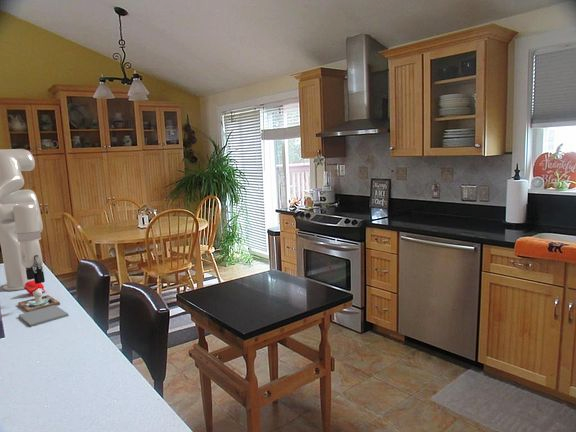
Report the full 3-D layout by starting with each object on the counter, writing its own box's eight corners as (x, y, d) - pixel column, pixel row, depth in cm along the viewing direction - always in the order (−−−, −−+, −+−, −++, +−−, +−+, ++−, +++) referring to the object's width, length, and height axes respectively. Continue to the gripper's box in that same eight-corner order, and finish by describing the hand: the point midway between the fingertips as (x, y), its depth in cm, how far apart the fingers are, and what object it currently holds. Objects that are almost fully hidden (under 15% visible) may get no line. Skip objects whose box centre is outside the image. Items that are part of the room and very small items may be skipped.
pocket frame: (18, 304, 167) (18, 302, 166) (48, 297, 174) (47, 294, 174) (28, 313, 157) (28, 310, 157) (60, 304, 165) (59, 302, 164)
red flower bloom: (26, 291, 173) (39, 280, 176) (19, 284, 176) (32, 274, 179) (37, 302, 179) (50, 291, 181) (30, 295, 182) (43, 285, 184)
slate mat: (19, 316, 154) (18, 314, 154) (55, 307, 162) (54, 304, 162) (30, 326, 144) (30, 324, 144) (68, 315, 153) (68, 313, 152)
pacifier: (27, 305, 166) (28, 309, 162) (25, 289, 166) (26, 293, 161) (48, 300, 171) (50, 304, 166) (46, 285, 170) (48, 288, 165)
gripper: (11, 236, 165) (18, 280, 167) (24, 240, 153) (31, 287, 155) (33, 233, 170) (39, 275, 172) (47, 236, 158) (54, 281, 160)
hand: (35, 280), depth 164 cm, fingers open, 9 cm apart
